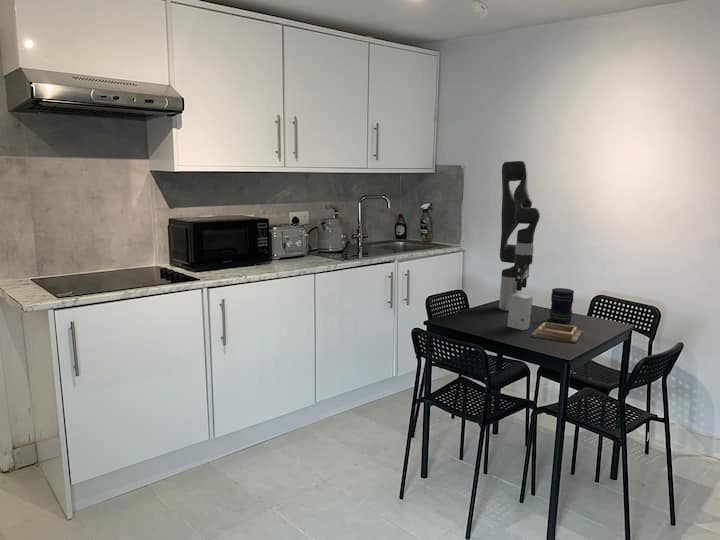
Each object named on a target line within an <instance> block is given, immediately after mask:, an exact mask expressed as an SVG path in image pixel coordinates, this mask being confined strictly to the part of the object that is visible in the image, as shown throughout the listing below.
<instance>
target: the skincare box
mask: <svg viewBox="0 0 720 540" xmlns="http://www.w3.org/2000/svg"><path fill="white" fill-rule="evenodd" d="M533 299H534V298H533V296H528V295H526V294H525V295H524V294H522V293H521V294H520V293H519V294H513V295H511V299H510V307H509V311H508V315H507V317H508V318H507V327H509V328H512V329H516V330H521V331H524V330H525V331H526V330H528V328H529V329H530V324H531V323H530V322H531V317H532V316H531V314H532V307H533Z"/></svg>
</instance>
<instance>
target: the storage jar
mask: <svg viewBox="0 0 720 540" xmlns="http://www.w3.org/2000/svg"><path fill="white" fill-rule="evenodd" d="M574 293H575V291H574V290H573V289H570V288H564V287H562V288H561V287H556V288H555V287H554V288H552V290H551V297H550V298H551V299H550V301H551V305H550V310H549V311H550V312H549V321H550V322H551V321H553V322H552V323H554V322H557V323H556V324H560V323H568V324H571V323H572V317H573V310H572V308H573V303H574V299H575V298H574V297H575V296H574ZM570 322H571V323H570Z"/></svg>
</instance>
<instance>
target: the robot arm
mask: <svg viewBox="0 0 720 540" xmlns="http://www.w3.org/2000/svg"><path fill="white" fill-rule="evenodd" d="M518 181H520V182H519V183H518V185H517V186H516V188H515V190H514V192H513V190H512V189H511V187H510V186H511V185H510V182H518ZM501 188H502V191H501V192H502V195H501V197H502V201H501V235H500V248H499V260H500V261H501V263H508V264H509V263H510V264H514V265H513V266H511V267H509V268H508V267H507V268H504V269H502V271H501V277H500V278H501V279H500V289H499V290H500V294H499V304H498V305H499V307H498V308H499V310H502V311H508V312H509V307H510V299H511V295H513V294H520V292H521V291H522V290H523V289H525V288H527V281H528V279H529V277H530V276H529V275H530V274H529V273H530V265H533V259H534V258H533V257H534V237H535V232H536V229H537V225H538V223H539V221H540V217H541V213H540V211H539V209H538V208H536V207H532V206H533V202H532V201H533V200H532V198H531V193H530V188H529V178H528V168H527V165H526V163H525V162H524V161H523V160H517V161H516V160H515V161H504V162H503V163H502V167H501ZM519 224H522V225H523V224H525V225H528V226H527V227H526V228H521V229H519V230H517V234H516V235H517V236H516V244H508V242H509V239H510V237H511V235H512V233H514V231H515V229H516V228H517V227H518V226H519Z"/></svg>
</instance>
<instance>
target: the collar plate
mask: <svg viewBox="0 0 720 540" xmlns="http://www.w3.org/2000/svg"><path fill="white" fill-rule="evenodd" d="M582 334H583V330H578V326H574V325H568V324H560V323H554V322H546V321H544V322H542V323H541V324H539V326H538V327H537V328H536V329H535V330H534V331H533V332H532V333H531V334H530V336H531V337H533V338H540V339H544V338H545V340H551V339H552V340H553V341H557V340H558V342H564V343H571V344H577V343H578V341H579V339H580V338H581V336H582Z"/></svg>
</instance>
